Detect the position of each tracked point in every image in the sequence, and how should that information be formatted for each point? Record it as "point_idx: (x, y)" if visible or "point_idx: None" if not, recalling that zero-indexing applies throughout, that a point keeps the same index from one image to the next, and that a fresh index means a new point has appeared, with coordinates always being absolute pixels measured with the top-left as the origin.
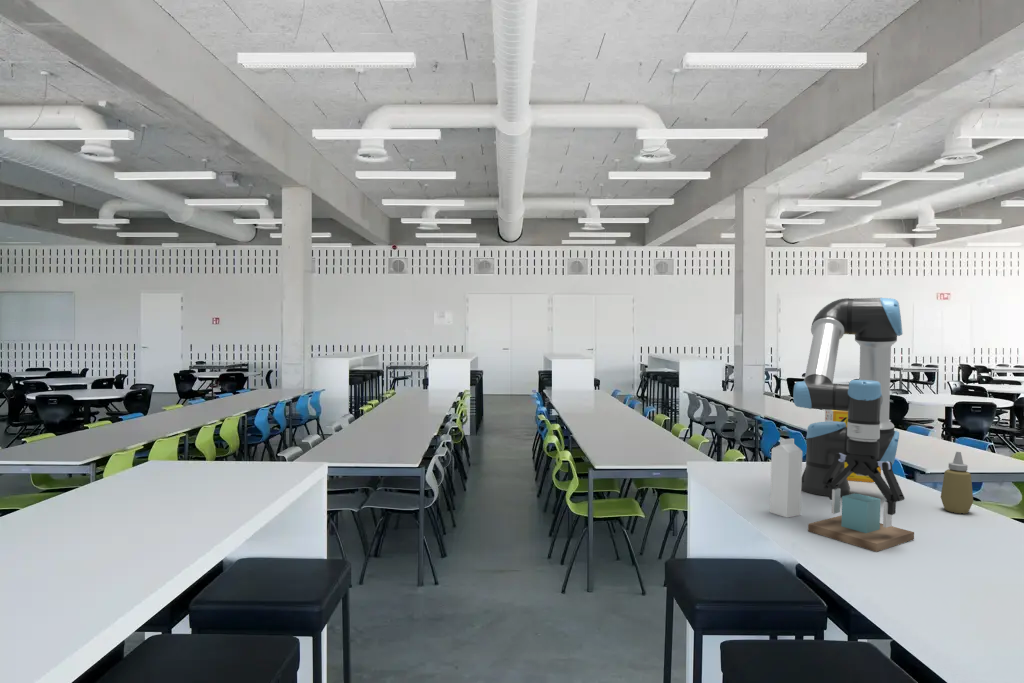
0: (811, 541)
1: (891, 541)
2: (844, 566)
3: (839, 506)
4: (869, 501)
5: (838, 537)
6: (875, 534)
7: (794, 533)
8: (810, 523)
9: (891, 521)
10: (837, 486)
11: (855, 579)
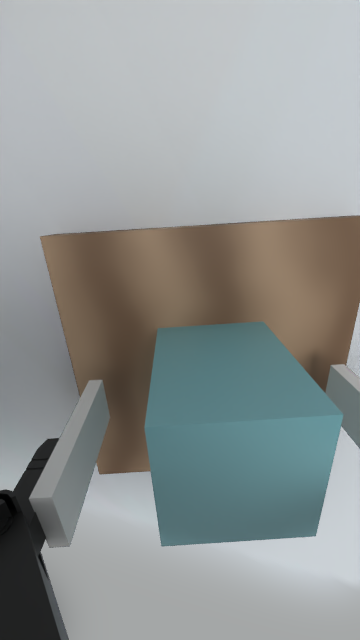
0: None
1: None
2: (305, 548)
3: (95, 403)
4: (317, 515)
5: None
6: None
7: (107, 491)
8: (100, 468)
9: (357, 379)
10: (26, 523)
11: (346, 572)
